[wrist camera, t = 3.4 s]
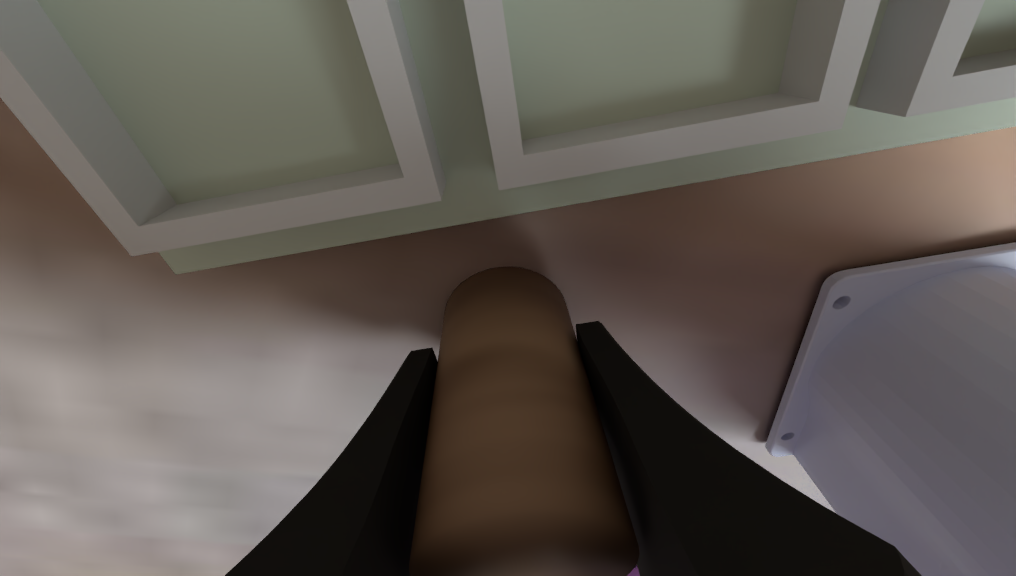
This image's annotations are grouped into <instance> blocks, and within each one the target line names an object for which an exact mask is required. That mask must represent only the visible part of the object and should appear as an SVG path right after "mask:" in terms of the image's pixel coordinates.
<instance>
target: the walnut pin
mask: <svg viewBox="0 0 1016 576" xmlns="http://www.w3.org/2000/svg"><path fill="white" fill-rule="evenodd" d="M639 554H640V552H639V545H638V542H637V539H636V535H635V532H634V529H633V525H632V522H631V519H630V515H629V512H628V509H627V505H626V502H625V499H624V495H623V492H622V489H621V485H620V482H619V479H618V475H617V472H616V469H615V465H614V462H613V459H612V455H611V452H610V449H609V445H608V442H607V439H606V435H605V432H604V429H603V425H602V422H601V419H600V415H599V412H598V409H597V406H596V402H595V399H594V396H593V392H592V389H591V386H590V382H589V379H588V376H587V372H586V369H585V366H584V363H583V359H582V356H581V353H580V349H579V346H578V343H577V339H576V336H575V332H574V329H573V326H572V322H571V319H570V316H569V312H568V309H567V306H566V303H565V300H564V297H563V295H562V294H561V292H560V290H559V289H558V288H557V287H556V285H554V284H553V283H552V282H551V281H550V280H549V279H547V278H546V277H544V276H543V275H541V274H539V273H537V272H534V271H531V270H528V269H524V268H517V267H499V268H493V269H488V270H485V271H482V272H479V273H477V274H475V275H473V276H471V277H469V278H468V279H466V280H465V281H464V282H462V283H461V284H460V285H459V286H458V287H457V288H456V289H455V290H454V292H453V293H452V295H451V296H450V298H449V300H448V302H447V305H446V309H445V314H444V322H443V329H442V336H441V343H440V350H439V357H438V364H437V371H436V378H435V385H434V392H433V399H432V406H431V413H430V420H429V427H428V435H427V442H426V449H425V456H424V463H423V470H422V477H421V484H420V491H419V498H418V505H417V512H416V519H415V526H414V533H413V541H412V548H411V555H410V562H409V573H410V576H627V575H628V574H629V573H630V572H631V571H632V570H633V568H634V567H635V566H636V564H637V562H638V559H639Z"/></svg>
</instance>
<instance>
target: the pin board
mask: <svg viewBox="0 0 1016 576" xmlns="http://www.w3.org/2000/svg"><path fill="white" fill-rule="evenodd" d="M0 98H1V99H2V100H3V101H4V103H5V104H6V105H7V106H8V107H9V109H10V110H11V111H12V112H13V114H14V115H15V116H16V117H17V118H18V120H19V121H20V122H21V123H22V124H23V126H24V127H25V128H26V129H27V131H28V132H29V133H30V134H31V135H32V137H33V138H34V139H35V140H36V141H37V143H38V144H39V145H40V146H41V147H42V149H43V150H44V151H45V152H46V154H47V155H48V156H49V157H50V158H51V160H52V161H53V162H54V163H55V164H56V166H57V167H58V168H59V169H60V171H61V172H62V173H63V174H64V175H65V177H66V178H67V179H68V180H69V181H70V183H71V184H72V185H73V186H74V188H75V189H76V190H77V191H78V192H79V194H80V195H81V196H82V197H83V198H84V200H85V201H86V202H87V203H88V205H89V206H90V207H91V208H92V209H93V211H94V212H95V213H96V214H97V215H98V217H99V218H100V219H101V220H102V221H103V223H104V224H105V225H106V226H107V228H108V229H109V230H110V231H111V232H112V234H113V235H114V236H115V237H116V238H117V240H118V241H119V242H120V243H121V245H122V246H123V247H124V248H125V249H126V251H127V252H128V253H129V254H130V255H131V257H132V256H138V255H144V254H149V253H155V252H159V254H160V255H161V256H162V258H163V259H164V260H165V262H166V263H167V264H168V265H169V267H170V268H171V269H172V271H173V272H174V273H175V274H176V275H177V274H183V273H188V272H194V271H200V270H205V269H211V268H217V267H222V266H228V265H233V264H239V263H245V262H250V261H256V260H262V259H267V258H273V257H279V256H284V255H290V254H296V253H301V252H307V251H313V250H318V249H324V248H330V247H335V246H341V245H347V244H352V243H358V242H364V241H369V240H375V239H381V238H386V237H392V236H398V235H403V234H409V233H415V232H420V231H426V230H432V229H437V228H443V227H449V226H454V225H460V224H466V223H471V222H477V221H483V220H488V219H494V218H500V217H505V216H511V215H517V214H522V213H528V212H534V211H539V210H545V209H551V208H556V207H562V206H568V205H573V204H579V203H585V202H590V201H596V200H602V199H607V198H613V197H619V196H624V195H630V194H636V193H641V192H647V191H652V190H658V189H664V188H669V187H675V186H681V185H686V184H692V183H698V182H703V181H709V180H715V179H720V178H726V177H732V176H737V175H743V174H749V173H754V172H760V171H766V170H771V169H777V168H783V167H788V166H794V165H800V164H805V163H811V162H817V161H822V160H828V159H834V158H839V157H845V156H851V155H856V154H862V153H868V152H873V151H879V150H885V149H890V148H896V147H902V146H907V145H913V144H919V143H924V142H930V141H936V140H941V139H947V138H953V137H958V136H964V135H970V134H975V133H981V132H987V131H992V130H998V129H1004V128H1009V127H1015V126H1016V0H0Z"/></svg>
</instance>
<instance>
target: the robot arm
mask: <svg viewBox="0 0 1016 576" xmlns="http://www.w3.org/2000/svg"><path fill="white" fill-rule="evenodd" d="M576 332H577V343H578V346H579V349H580V353H581V356H582V359H583V363H584V366H585V369H586V372H587V376H588V379H589V382H590V386H591V389H592V392H593V396H594V399H595V402H596V406H597V409H598V412H599V415H600V419H601V422H602V425H603V429H604V432H605V435H606V439H607V442H608V445H609V449H610V452H611V455H612V459H613V462H614V465H615V469H616V472H617V475H618V479H619V482H620V485H621V489H622V492H623V495H624V499H625V502H626V505H627V509H628V512H629V515H630V519H631V522H632V525H633V529H634V532H635V535H636V539H637V542H638V545H639V552H640V554H639V559H638V562H637V566H638V570H639V574H640V576H1016V242H1014V243H1008V244H1002V245H996V246H990V247H984V248H977V249H971V250H965V251H959V252H953V253H947V254H940V255H934V256H928V257H922V258H916V259H910V260H904V261H897V262H891V263H885V264H879V265H873V266H867V267H860V268H854V269H848V270H843V271H839V272H836V273H834V274H832V275H831V276H829V277H828V278H827V279H826V280H825V281H824V283H823V285H822V287H821V290H820V293H819V296H818V298H817V301H816V304H815V307H814V310H813V312H812V315H811V318H810V321H809V324H808V327H807V329H806V332H805V335H804V338H803V341H802V343H801V346H800V349H799V352H798V355H797V358H796V360H795V363H794V366H793V369H792V372H791V374H790V377H789V380H788V383H787V386H786V389H785V391H784V394H783V397H782V400H781V403H780V405H779V408H778V411H777V414H776V417H775V419H774V422H773V425H772V428H771V431H770V434H769V436H768V439H767V442H766V445H765V447H766V449H767V450H768V452H769V453H770V454H771V455H772V456H776V457H778V456H787V455H794V456H795V457H796V459H797V460H798V461H799V463H800V464H801V465H802V467H803V468H804V470H805V471H806V472H807V474H808V475H809V476H810V478H811V479H812V481H813V482H814V483H815V485H816V486H817V487H818V489H819V490H820V491H821V493H822V494H823V496H824V497H825V498H826V500H827V501H828V502H829V504H830V505H831V507H832V508H833V509H834V511H835V512H836V513H837V514H836V513H834V512H833V511H831V510H829V509H827V508H826V507H824V506H822V505H821V504H819V503H817V502H816V501H814V500H812V499H811V498H809V497H808V496H806V495H804V494H803V493H801V492H800V491H798V490H796V489H795V488H793V487H791V486H790V485H788V484H787V483H785V482H783V481H782V480H780V479H779V478H777V477H776V476H774V475H773V474H772V473H770V472H769V471H767V470H766V469H764V468H763V467H761V466H760V465H758V464H757V463H755V462H754V461H752V460H751V459H749V458H748V457H746V456H745V455H743V454H742V453H741V452H739V451H738V450H736V449H735V448H733V447H732V446H731V445H729V444H728V443H727V442H725V441H724V440H723V439H721V438H720V437H719V436H717V435H716V434H715V433H713V432H712V431H711V430H709V429H708V428H707V427H706V426H704V425H703V424H702V423H701V422H699V421H698V420H697V419H696V418H694V417H693V416H692V415H691V414H689V413H688V412H687V411H686V410H685V409H683V408H682V407H681V406H680V405H679V404H678V403H677V402H675V401H674V400H673V399H672V398H671V397H670V396H669V395H668V394H667V393H666V392H664V391H663V390H662V389H661V388H660V387H659V386H658V385H657V384H656V383H655V382H654V381H653V380H652V379H651V378H650V377H649V376H648V375H647V374H646V373H645V372H644V371H643V370H642V369H641V368H640V367H639V366H638V365H637V364H636V363H635V362H634V361H633V360H632V359H631V358H630V357H629V356H628V354H627V353H626V352H625V351H624V350H623V349H622V348H621V347H620V345H619V344H618V343H617V342H616V341H615V340H614V338H613V337H612V336H611V335H610V333H609V332H608V331H607V330H606V328H605V327H604V326H603V324H602V323H600V322H599V321H595V322H589V323H582V324H576ZM437 364H438V362H437V359H436V356H435V354H434V351H433V348H427V349H421V350H415V351H411V352H410V353H409V355H408V356H407V358H406V359H405V361H404V363H403V364H402V366H401V367H400V369H399V371H398V372H397V374H396V375H395V377H394V379H393V380H392V382H391V383H390V385H389V387H388V388H387V390H386V391H385V393H384V394H383V396H382V397H381V399H380V400H379V402H378V403H377V405H376V406H375V408H374V409H373V411H372V412H371V414H370V415H369V417H368V418H367V419H366V421H365V422H364V424H363V425H362V426H361V428H360V429H359V430H358V432H357V433H356V435H355V436H354V437H353V439H352V440H351V441H350V443H349V444H348V445H347V447H346V448H345V449H344V451H343V452H342V453H341V454H340V456H339V457H338V458H337V460H336V461H335V462H334V463H333V464H332V466H331V467H330V468H329V469H328V471H327V472H326V473H325V474H324V475H323V476H322V478H321V479H320V480H319V481H318V482H317V483H316V485H315V486H314V487H313V488H312V489H311V490H310V491H309V492H308V494H307V495H306V496H305V497H304V498H303V499H302V500H301V501H300V502H299V503H298V504H297V505H296V506H295V507H294V508H293V509H292V510H291V511H290V513H289V514H288V515H287V516H286V517H285V518H284V519H283V520H282V521H281V522H280V523H279V524H278V525H277V526H276V527H275V528H274V529H273V530H272V531H271V532H270V533H269V534H268V535H267V536H266V537H265V538H264V539H263V540H262V541H261V542H260V543H259V544H258V545H257V546H256V547H255V548H254V549H253V550H252V551H251V552H250V553H249V554H248V555H246V556H245V557H244V558H243V559H242V560H241V561H240V562H239V563H238V564H237V565H236V566H235V567H234V568H232V569H231V570H230V571H229V572H228V573H227V574H226V575H225V576H410V573H409V562H410V555H411V548H412V541H413V533H414V526H415V519H416V512H417V505H418V498H419V491H420V484H421V477H422V470H423V463H424V456H425V449H426V442H427V435H428V427H429V420H430V413H431V406H432V399H433V392H434V385H435V378H436V371H437Z"/></svg>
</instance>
